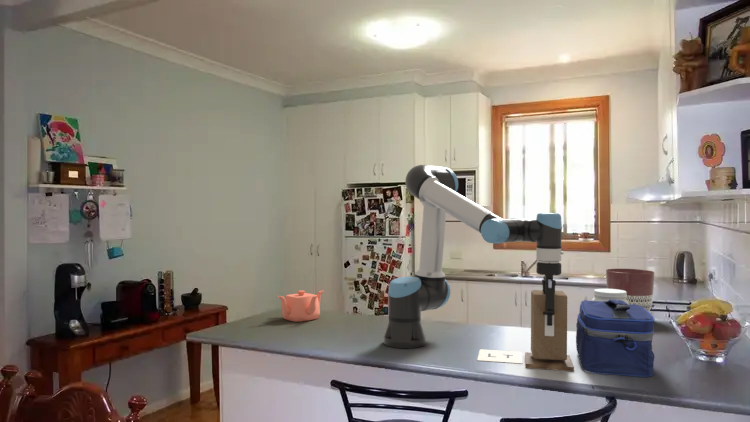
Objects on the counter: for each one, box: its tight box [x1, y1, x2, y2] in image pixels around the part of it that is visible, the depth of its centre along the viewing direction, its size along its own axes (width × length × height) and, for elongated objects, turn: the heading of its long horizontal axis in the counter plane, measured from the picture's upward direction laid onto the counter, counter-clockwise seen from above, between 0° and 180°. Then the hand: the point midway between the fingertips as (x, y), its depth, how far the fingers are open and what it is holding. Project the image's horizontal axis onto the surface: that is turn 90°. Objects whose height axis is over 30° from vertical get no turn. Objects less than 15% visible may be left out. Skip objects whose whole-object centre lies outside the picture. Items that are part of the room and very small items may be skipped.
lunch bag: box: [575, 299, 656, 378], centre depth 173 cm, size 31×21×20 cm
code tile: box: [477, 348, 523, 365], centre depth 182 cm, size 14×14×1 cm
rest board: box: [524, 351, 575, 372], centre depth 174 cm, size 14×14×1 cm
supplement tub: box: [591, 288, 629, 305], centre depth 206 cm, size 13×13×18 cm
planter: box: [605, 268, 655, 313], centre depth 244 cm, size 20×20×21 cm
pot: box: [277, 289, 325, 323], centre depth 242 cm, size 18×17×12 cm
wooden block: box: [530, 289, 568, 360], centre depth 174 cm, size 10×10×20 cm
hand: (548, 331), depth 174 cm, fingers closed on wooden block, 10 cm apart
